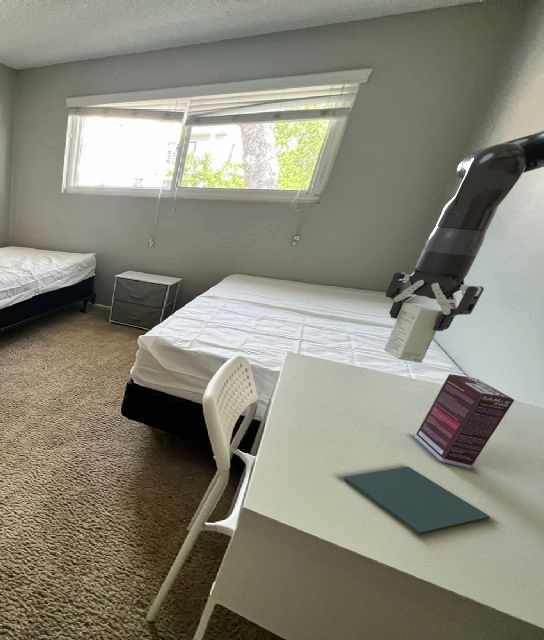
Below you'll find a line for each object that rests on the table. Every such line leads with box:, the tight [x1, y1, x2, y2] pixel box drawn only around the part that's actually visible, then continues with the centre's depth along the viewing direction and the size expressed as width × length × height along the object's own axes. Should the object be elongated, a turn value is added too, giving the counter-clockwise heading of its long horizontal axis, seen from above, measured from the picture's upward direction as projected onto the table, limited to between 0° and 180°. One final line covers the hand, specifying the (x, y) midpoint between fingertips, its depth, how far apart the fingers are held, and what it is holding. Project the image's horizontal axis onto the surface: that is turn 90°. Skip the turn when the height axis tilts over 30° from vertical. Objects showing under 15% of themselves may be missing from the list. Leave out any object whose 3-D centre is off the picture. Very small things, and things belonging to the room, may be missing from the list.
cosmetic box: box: [383, 302, 443, 364], centre depth 79 cm, size 6×4×12 cm
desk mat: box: [343, 466, 491, 536], centre depth 59 cm, size 16×11×1 cm
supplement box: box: [414, 373, 515, 469], centre depth 69 cm, size 9×5×16 cm, turn 160°
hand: (415, 323), depth 78 cm, fingers closed on cosmetic box, 7 cm apart
